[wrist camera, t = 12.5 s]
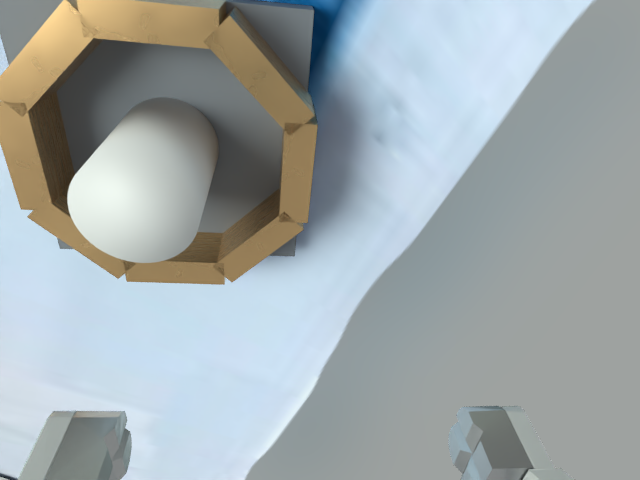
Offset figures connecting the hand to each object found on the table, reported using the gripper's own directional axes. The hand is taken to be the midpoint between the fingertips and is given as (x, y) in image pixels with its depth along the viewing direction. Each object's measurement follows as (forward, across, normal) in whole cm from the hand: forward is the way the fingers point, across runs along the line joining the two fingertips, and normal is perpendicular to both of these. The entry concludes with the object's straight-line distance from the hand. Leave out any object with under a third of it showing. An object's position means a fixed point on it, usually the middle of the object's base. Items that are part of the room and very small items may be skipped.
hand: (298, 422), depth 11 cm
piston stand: (+18, -6, 0) cm, 19 cm away
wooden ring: (+16, -6, 0) cm, 17 cm away
